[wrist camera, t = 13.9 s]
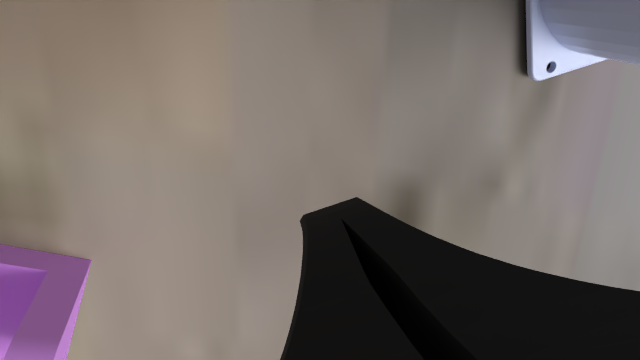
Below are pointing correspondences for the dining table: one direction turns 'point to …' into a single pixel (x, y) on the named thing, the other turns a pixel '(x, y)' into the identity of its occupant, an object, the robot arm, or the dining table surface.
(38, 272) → the bracket
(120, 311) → the dining table surface
